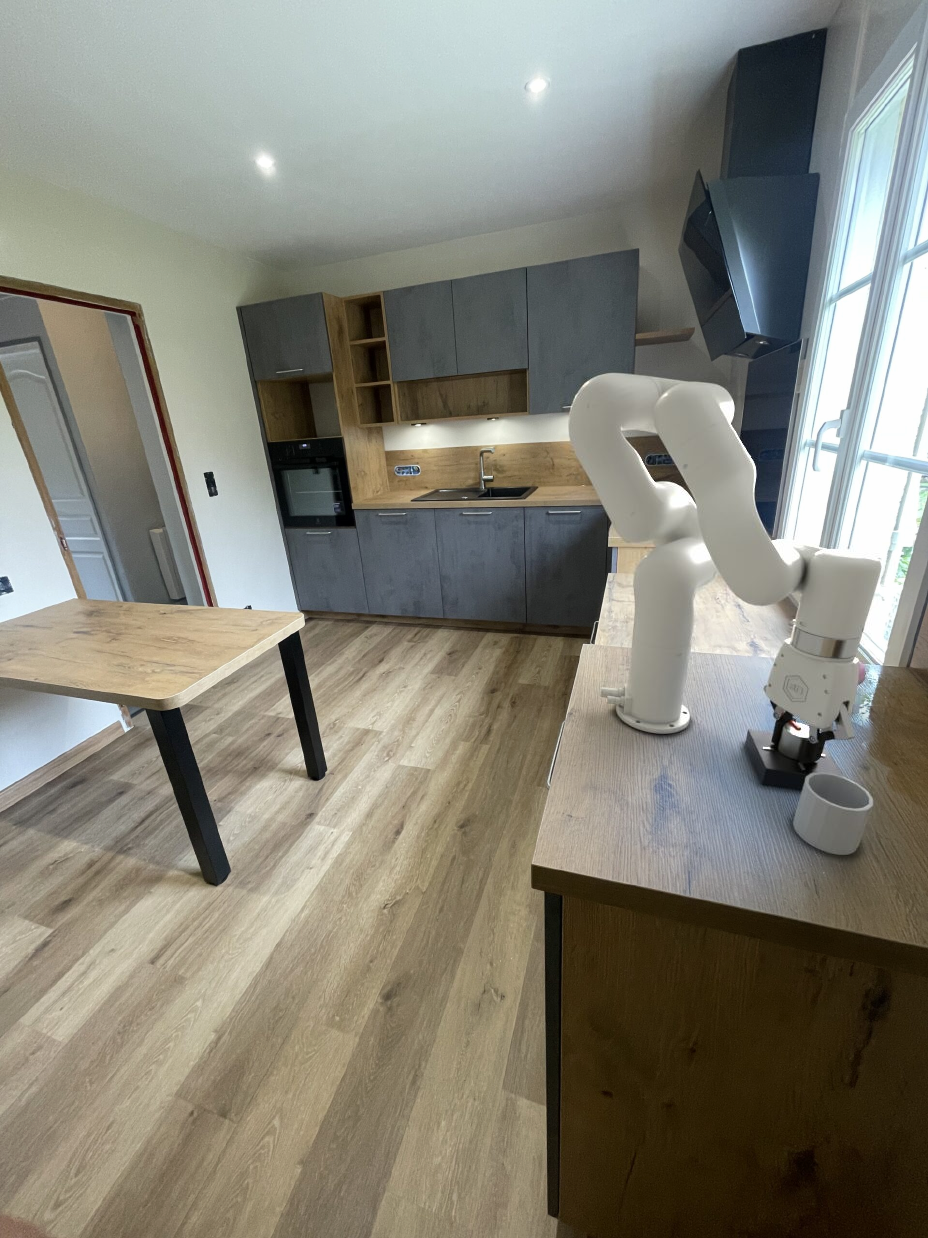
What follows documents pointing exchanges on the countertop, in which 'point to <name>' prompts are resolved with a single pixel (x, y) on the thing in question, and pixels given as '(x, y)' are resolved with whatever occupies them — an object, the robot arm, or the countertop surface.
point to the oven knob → (793, 739)
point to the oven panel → (783, 763)
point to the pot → (832, 813)
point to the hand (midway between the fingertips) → (794, 750)
